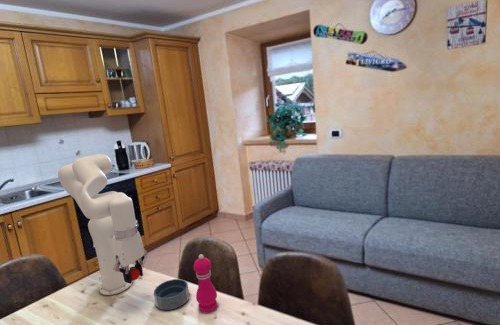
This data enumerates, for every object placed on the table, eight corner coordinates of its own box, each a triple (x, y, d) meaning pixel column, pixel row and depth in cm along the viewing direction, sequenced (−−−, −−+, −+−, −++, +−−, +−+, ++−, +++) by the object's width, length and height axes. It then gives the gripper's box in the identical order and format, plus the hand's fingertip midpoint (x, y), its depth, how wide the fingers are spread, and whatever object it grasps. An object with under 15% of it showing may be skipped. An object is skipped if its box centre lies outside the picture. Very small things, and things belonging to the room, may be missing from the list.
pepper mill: (214, 314, 107) (207, 259, 103) (194, 313, 108) (186, 259, 104) (220, 300, 114) (214, 249, 110) (202, 300, 115) (194, 249, 111)
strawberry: (125, 281, 114) (123, 269, 113) (135, 275, 117) (133, 263, 117) (133, 284, 112) (131, 272, 111) (143, 277, 115) (141, 266, 114)
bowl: (148, 306, 115) (146, 293, 114) (172, 288, 125) (170, 276, 124) (173, 314, 109) (171, 301, 108) (196, 294, 119) (194, 282, 118)
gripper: (137, 221, 120) (145, 265, 123) (97, 240, 106) (107, 289, 109) (151, 224, 116) (158, 269, 120) (112, 243, 102) (121, 294, 106)
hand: (134, 278), depth 114 cm, fingers closed on strawberry, 4 cm apart
